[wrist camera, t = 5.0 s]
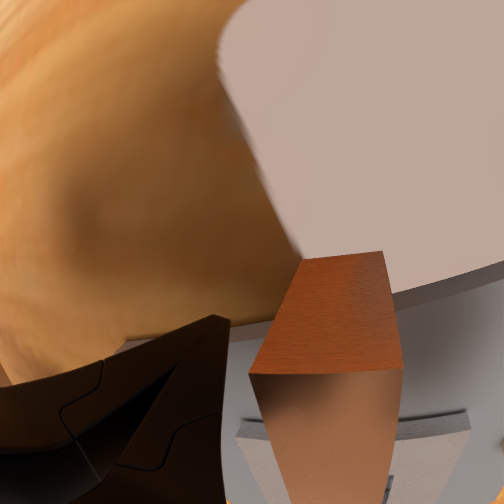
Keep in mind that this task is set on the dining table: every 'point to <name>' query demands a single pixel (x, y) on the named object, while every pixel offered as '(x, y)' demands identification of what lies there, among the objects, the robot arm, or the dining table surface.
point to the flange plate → (342, 397)
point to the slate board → (409, 380)
